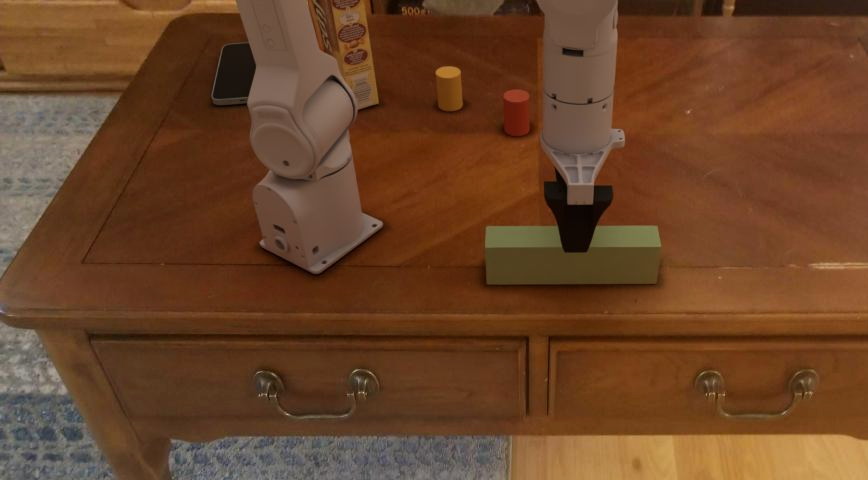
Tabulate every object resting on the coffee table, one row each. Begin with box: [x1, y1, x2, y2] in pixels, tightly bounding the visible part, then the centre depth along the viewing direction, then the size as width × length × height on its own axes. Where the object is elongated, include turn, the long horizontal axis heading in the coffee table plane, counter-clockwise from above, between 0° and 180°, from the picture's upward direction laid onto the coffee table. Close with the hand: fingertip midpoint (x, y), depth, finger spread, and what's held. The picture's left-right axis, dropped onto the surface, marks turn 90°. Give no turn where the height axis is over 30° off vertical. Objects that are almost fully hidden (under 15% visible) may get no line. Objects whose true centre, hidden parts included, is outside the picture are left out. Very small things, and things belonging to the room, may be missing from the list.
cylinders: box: [435, 65, 531, 137], centre depth 100 cm, size 3×13×4 cm, turn 56°
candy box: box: [307, 0, 380, 111], centre depth 100 cm, size 9×4×15 cm, turn 33°
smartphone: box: [211, 41, 256, 106], centre depth 108 cm, size 7×1×15 cm
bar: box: [484, 225, 662, 286], centre depth 79 cm, size 16×3×4 cm, turn 91°
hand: (573, 223), depth 76 cm, fingers open, 7 cm apart
